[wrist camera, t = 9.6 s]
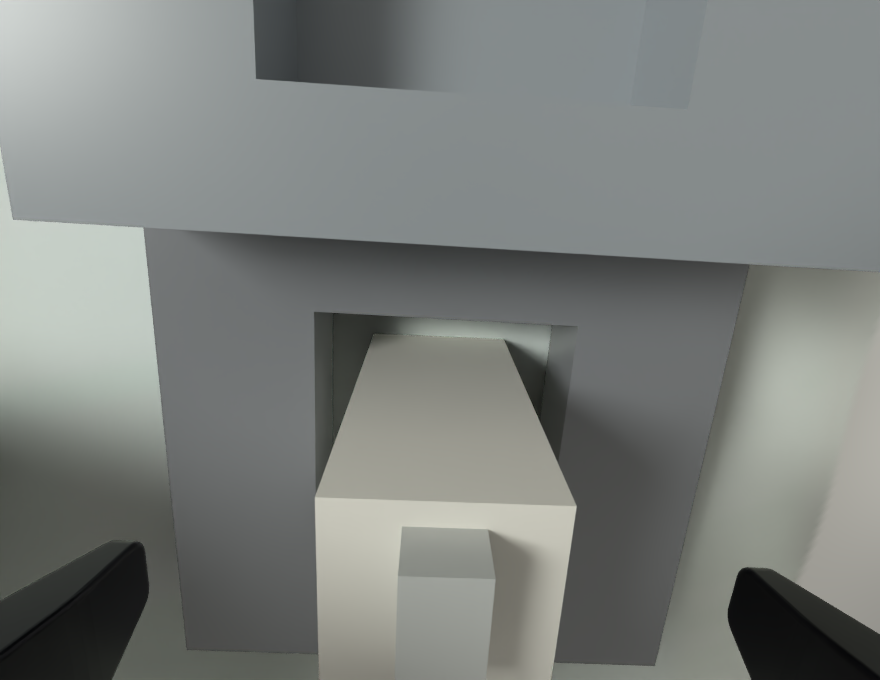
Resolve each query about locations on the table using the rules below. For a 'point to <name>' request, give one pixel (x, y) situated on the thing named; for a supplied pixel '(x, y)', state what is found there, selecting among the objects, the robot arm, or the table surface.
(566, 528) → the plug
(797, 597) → the robot arm
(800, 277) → the table surface
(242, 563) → the socket panel
